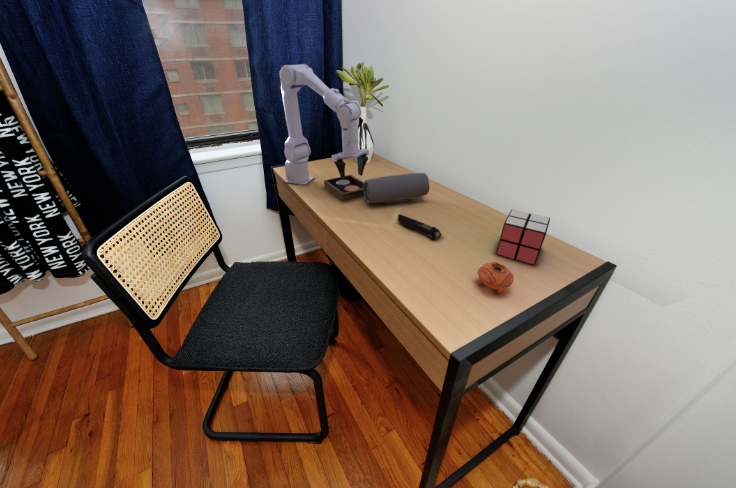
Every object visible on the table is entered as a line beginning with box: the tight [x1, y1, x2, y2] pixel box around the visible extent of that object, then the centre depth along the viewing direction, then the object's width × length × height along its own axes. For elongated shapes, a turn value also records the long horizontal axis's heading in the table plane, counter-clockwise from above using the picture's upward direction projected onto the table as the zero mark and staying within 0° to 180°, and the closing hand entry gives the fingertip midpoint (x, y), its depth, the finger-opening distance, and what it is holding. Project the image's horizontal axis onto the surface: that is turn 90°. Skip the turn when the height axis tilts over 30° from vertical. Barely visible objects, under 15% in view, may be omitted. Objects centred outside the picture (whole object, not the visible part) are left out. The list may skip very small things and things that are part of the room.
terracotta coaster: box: [345, 185, 359, 193], centre depth 120 cm, size 6×6×2 cm
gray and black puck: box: [336, 180, 350, 190], centre depth 125 cm, size 6×6×2 cm
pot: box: [477, 261, 515, 294], centre depth 73 cm, size 8×8×7 cm
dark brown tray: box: [323, 174, 365, 203], centre depth 122 cm, size 17×13×3 cm
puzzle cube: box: [495, 209, 551, 266], centre depth 84 cm, size 10×10×10 cm
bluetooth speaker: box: [363, 172, 430, 205], centre depth 113 cm, size 23×9×10 cm, turn 108°
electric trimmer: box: [397, 213, 442, 241], centre depth 96 cm, size 4×16×3 cm, turn 45°
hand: (351, 176), depth 117 cm, fingers open, 7 cm apart
